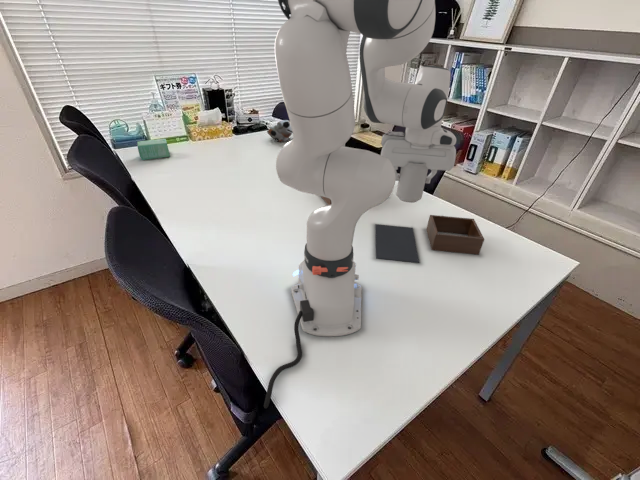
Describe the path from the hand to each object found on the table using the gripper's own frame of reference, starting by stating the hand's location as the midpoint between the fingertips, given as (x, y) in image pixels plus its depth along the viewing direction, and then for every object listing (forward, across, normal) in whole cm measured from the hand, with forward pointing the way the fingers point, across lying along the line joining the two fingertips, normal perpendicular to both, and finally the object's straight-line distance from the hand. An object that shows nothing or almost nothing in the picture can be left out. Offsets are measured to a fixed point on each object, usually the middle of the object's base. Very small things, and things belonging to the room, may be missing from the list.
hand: (411, 181), depth 96 cm
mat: (+22, -1, 0) cm, 22 cm away
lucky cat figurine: (+22, -62, +100) cm, 120 cm away
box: (+22, -118, +57) cm, 132 cm away
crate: (+22, +17, +4) cm, 28 cm away
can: (+6, 0, 0) cm, 6 cm away
